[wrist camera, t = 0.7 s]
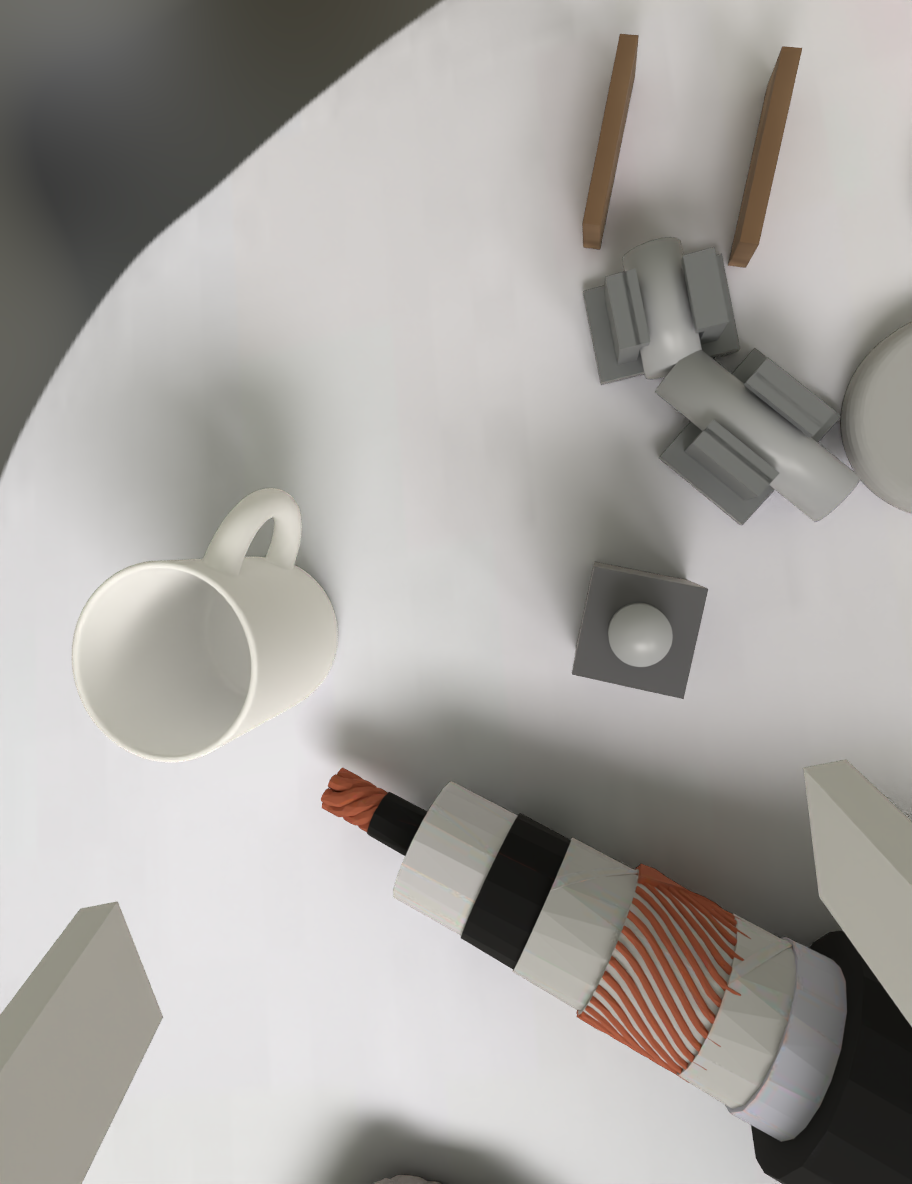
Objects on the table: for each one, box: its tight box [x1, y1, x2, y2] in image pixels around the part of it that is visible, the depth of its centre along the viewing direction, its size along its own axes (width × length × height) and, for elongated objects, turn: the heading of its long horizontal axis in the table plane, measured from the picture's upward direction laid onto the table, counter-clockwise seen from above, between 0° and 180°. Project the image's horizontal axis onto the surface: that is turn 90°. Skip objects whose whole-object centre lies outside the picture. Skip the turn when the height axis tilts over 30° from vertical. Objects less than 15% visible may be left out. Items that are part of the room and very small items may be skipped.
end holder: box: [583, 34, 802, 268], centre depth 34 cm, size 8×8×3 cm
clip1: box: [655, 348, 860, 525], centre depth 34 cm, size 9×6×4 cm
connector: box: [572, 562, 708, 699], centre depth 33 cm, size 4×4×8 cm
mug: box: [72, 488, 338, 762], centre depth 35 cm, size 12×8×10 cm
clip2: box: [583, 237, 740, 385], centre depth 34 cm, size 5×6×4 cm
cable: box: [321, 768, 912, 1184], centre depth 34 cm, size 10×34×10 cm, turn 68°
